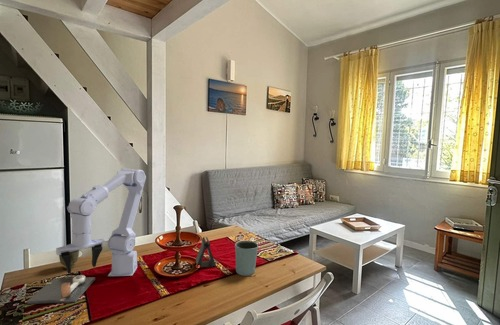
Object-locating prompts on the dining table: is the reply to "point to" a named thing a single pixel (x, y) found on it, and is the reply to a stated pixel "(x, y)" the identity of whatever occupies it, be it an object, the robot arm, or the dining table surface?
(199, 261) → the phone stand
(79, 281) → the lever
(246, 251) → the green tumbler
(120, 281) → the dining table surface
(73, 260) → the cup
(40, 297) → the lock base
